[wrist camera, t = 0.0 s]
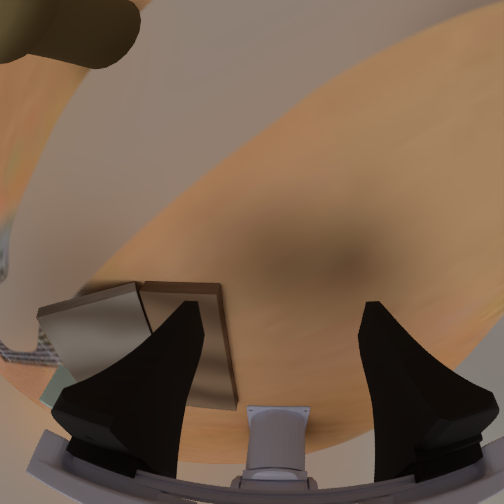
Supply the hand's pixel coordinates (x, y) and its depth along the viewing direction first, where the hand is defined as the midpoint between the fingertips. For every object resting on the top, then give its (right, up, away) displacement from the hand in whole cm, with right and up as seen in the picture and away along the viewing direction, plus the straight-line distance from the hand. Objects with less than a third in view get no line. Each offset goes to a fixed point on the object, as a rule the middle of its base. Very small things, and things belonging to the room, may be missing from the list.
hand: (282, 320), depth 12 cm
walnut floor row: (-7, -7, +16) cm, 19 cm away
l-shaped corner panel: (-27, -21, +26) cm, 43 cm away
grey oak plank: (-16, -9, +15) cm, 23 cm away
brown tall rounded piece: (-12, +19, +2) cm, 22 cm away
